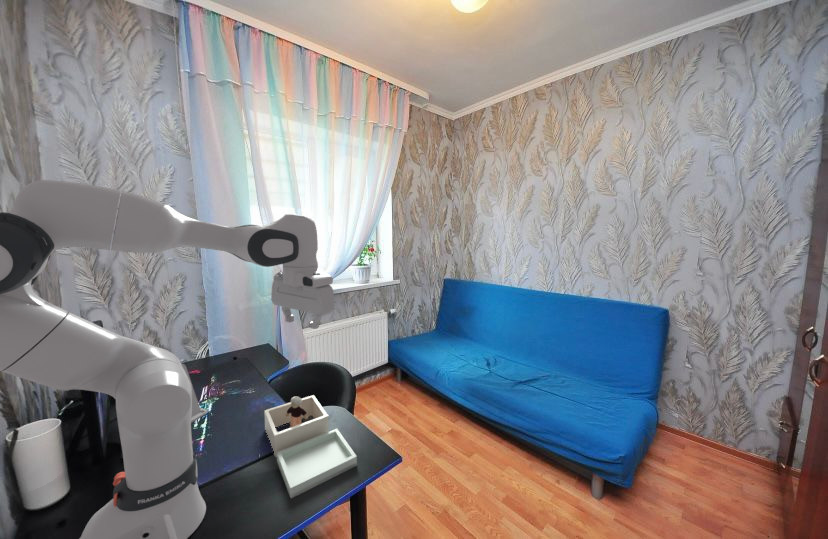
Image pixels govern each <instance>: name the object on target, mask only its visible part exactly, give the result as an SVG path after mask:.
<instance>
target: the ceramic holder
mask: <svg viewBox="0 0 828 539" xmlns="http://www.w3.org/2000/svg"><path fill="white" fill-rule="evenodd" d="M301 400H302V403H301V404H300V405H299V407H300V408H302V409H304V410H305V411H306V412H307V413H306V414H307V416H308V418H309V417H311V416H312V417H313V419H311V420H308V421H307V420H306V421H305V422H302V424H299V425H296V426H294V427H291V428H290V427H289V428H286V429H283V430H281V431H278V430H277V428H275V427H278V426H280V425H283V424H286V423H289V422H290V421H291V413H290V414H289V416H287V417H286V413H287V410H288V409H289V408H290V407H291V406H292V405H291V401H290V402H286V403H284V404H281V405H278V406H274V407H271V408H268V409H266V410H265V409H264V413H263V414H264V431H265V430H266V431H265V433H267V434H266V436H267V435H268V436H267V438H269V439H268V441H269V440H270V442H269V444H270V443H271V445H270V446H272V447H271V449H272V448H273V450H272V452H273V451H274V453H273V455H274V457H275V458H277V452H279V451H282V450H284V449H287V448H289V447H292V446H294V445H297V444H299V443H302V442H304V441H307V440H309V439H312V438H314V437H317V436H319V435H322V434H324V433H327V432H329V430H330V428H329V426H330V424H329V420H330V418H329V414H328V413H327V411H326V410H325V409H324V407H323V406H322V405H321V403H320V401H318V399H317V398H316V396H315V395H314V394H313V395H310V396H309V395H308V396H305V397H303V398H301ZM302 419H305V417H304V416H303V415H302V414H301V420H302ZM289 424H290V423H289ZM286 425H287V424H286ZM283 426H284V425H283ZM278 428H279V427H278Z"/></svg>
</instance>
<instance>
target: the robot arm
mask: <svg viewBox="0 0 828 539" xmlns="http://www.w3.org/2000/svg"><path fill="white" fill-rule="evenodd" d="M17 193H18V194H17V195H16V197H15V200H14V203H13V206H12V209H11V210H10V211H9V212H5V211H4V212H3V211H2V212H1V211H0V372H1V373H5V374H8V375H11V376H13V377H14V376H15V377H17V378H20V379H24V380H26V381H29V382H32V383H36V384H38V385H41V386H45V387H48V388H51V389H54V390H57V391H71V390H80V391H81V390H82V391H89V392H97V393H102V394H105V395H109V396H111V397H113V399H114V400H115V410H116V418H117V426H118V432H119V438H120V444H121V450H122V451H121V452H122V459H123V468H124V471H120V472H118V473H116V474H115V476H114V477H113V482H112V485H113V486H114V488H113V491H112V499H110V500H109V501H108V502H107V503H106V504H105V505H103V507H101V508H100V509H99V510H98V511H96V512H95V513H94V514H92V516H91V518H90V519H89V521H88V522H87V524H86V525H85V528H84V529H83V531H82V533H81V536H80V537H79V539H188V538H189V537H190V536H192V534H194V532H195V531H196V530H197V529H198V528H199V526H200V524H201V523H202V522H203V519H204V518H205V515H206V512H207V505H206V502H205V500H204V498H203V496H202V495H201V492H200V490H199V486H198V475H199V474H198V463H197V459H196V454H195V452H194V451H193V437H192V423H191V416H192V387H191V383H192V382H191V383H190V381H189V379H188V377H187V375H186V372H185V371H184V369H183V367H182V365H181V361H180V359H179V358H178V356H177V355H175V354H174V353H172V352H171V351H169V350H167V349H165V348H162V347H157V346H155V345H151V344H149V343H146V342H143V341H140V340H137V339H133V338H131V337H130V338H129V337H127V336H124V335H120V334H118V333H116V332H113V331H111V330H109V329H107V328H105V327H102V326H100V325H98V324H96V323H94V322H92V321H90V320H87V319H86V318H84V317H81V316H79V315H76V314H74V313H72V312H70V311H68V310H66V309H64V308H61V307H60V306H57V305H55V304H53V303H51V302H49V301H46V300H45V299H43V298H41V296H39V295H38V294H36V292H35V291H34V290H33V287H32V285H34V283H35V282H36V280H38V278H39V276H40V274H41V273H42V272H43V271H44V270H45V268H46V266H47V264H48V262H49V260H50V258H51V254H52V253H53V252H55V251H57V250H59V249H64V248H77V247H78V248H88V249H95V250H96V249H98V250H103V251H104V250H106V251H110V250H111V251H115V252H120V253H136V254H137V253H139V254H140V253H142V254H143V253H145V254H146V253H147V254H149V253H153V254H155V253H161V252H162V253H163V252H165V251H169V250H172V249H175V248H180V247H181V248H182V247H184V248H185V247H191V248H199V249H207V250H213V251H220V252H221V251H222V252H225V253H229V254H231V255H233V256H235V257H237V258H238V259H240V260H242V261H244V262H249V263H252V264H254V265H256V266H260V267H264V268H270V267H274V266H280V265H282V272H279V271H278V272H277V273H275V274H274V276H273V281H272V284H271V293H270V294H271V299H270V300H271V302H272V304H273V305H274V306H279V307H281V311H282V313H283V315H284V317H285V318H284V321H285V322H286V323H293V322H294V320H295V315H293V314H292V311H291V309H293V310H298V311H301V312H305V313H309V314H312V318H313V320H312V321H310V322H309V328H311V329H314V330H316V329H319V327H320V320H321V319H322V317H323V316H327V315H330V314H332V313H333V311H334V310H335V294H334V292H335V291H334V288H333V287H332V286H331V285H332V284H333V282H334V278H333V276H332V275H330V274H328V273H327V272H325V271H323V270H322V269H320V268H319V263H318V258H317V253H318V248H319V247H318V244H319V243H318V242H319V241H318V230H317V225H316V223H315V221H314V220H313V218H311V217H308V216H305V215H301V214H295V213H286V214H284V216H283V215H282V217H281V218H279V219H277V220H276V221H273V222H271V223H268V224H265V225H263V226H261V225H258V224H244V225H239V226H227V225H222V224H221V225H220V224H217V223H212V222H207V221H202V220H198V219H194V218H191V217H189V216H186V215H184V214H182V213H180V212H179V211H178V210H176V209H174V208H173V207H171V206H170V205H168V204H165V203H163V202H161V201H158V200H155V199H153V198H149V197H146V196H143V195H139V194H137V193H134V192H133V193H132V192H129V191H123V190H119V189H115V188H111V187H104V186H99V185H94V184H86V183H81V182H71V181H65V180H64V181H63V180H53V179H39V180H35V181H32V182H30V183H28V184H26V185H25V186H24V187H22V188H21V190H20V191H19V192H17Z"/></svg>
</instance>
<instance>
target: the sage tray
mask: <svg viewBox="0 0 828 539" xmlns="http://www.w3.org/2000/svg"><path fill="white" fill-rule="evenodd" d="M357 457H358V456H357V454H356V453H355V452H354V450H353V449H352V447H351V445H349V443H348V441H346V439H345V438H344V436H343V435H342V433H341V432H340V431H339V429H338V428H335V429H332V430H330V431H329V432H327V433H324V434H322V435H319V436H317V437H314V438H312V439H309V440H307V441H304V442H302V443H299V444H297V445H294V446H292V447H289V448H287V449H284V450H282V451H279V452H277V457H276V464H277V465H278V466H277V467H278V469H279V472H280V474H281V476H282V479H283V482H284V484H285V487H286V490H287V493H288V496H289V497H290V499H293V498H295V497H297V496H299V495H302V494H303V493H305V492H307V491H309V490H311V489H313V488H315V487H317V486H319V485H321V484H323V483H325V482H327V481H329V480H331V479H333V478H334V477H336V476H339V475H341V474H343V473H345V472H348V471H349V470H350V469H351V470H352V469H353V468H355V467H357V466H358V465H357V464H358V458H357Z"/></svg>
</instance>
